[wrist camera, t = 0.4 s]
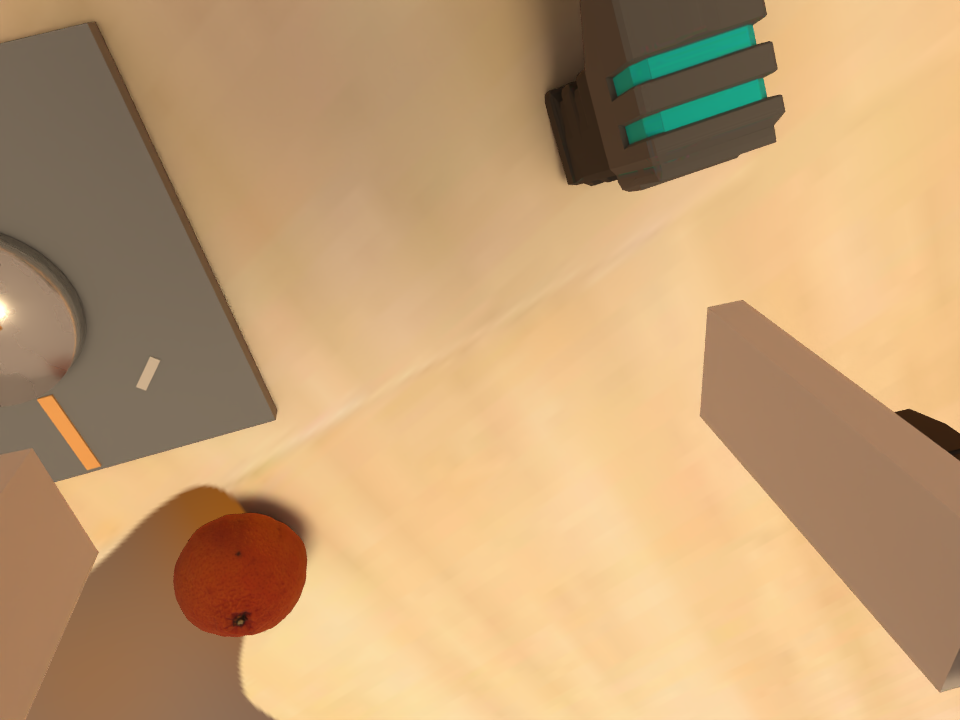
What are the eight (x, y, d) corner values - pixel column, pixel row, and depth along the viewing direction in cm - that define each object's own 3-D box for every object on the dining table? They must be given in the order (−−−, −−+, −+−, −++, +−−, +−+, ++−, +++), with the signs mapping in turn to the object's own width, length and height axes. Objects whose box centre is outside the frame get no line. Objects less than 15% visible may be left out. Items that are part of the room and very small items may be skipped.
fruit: (321, 499, 48) (318, 583, 41) (293, 581, 51) (285, 670, 44) (197, 480, 45) (171, 566, 38) (176, 568, 48) (149, 661, 41)
